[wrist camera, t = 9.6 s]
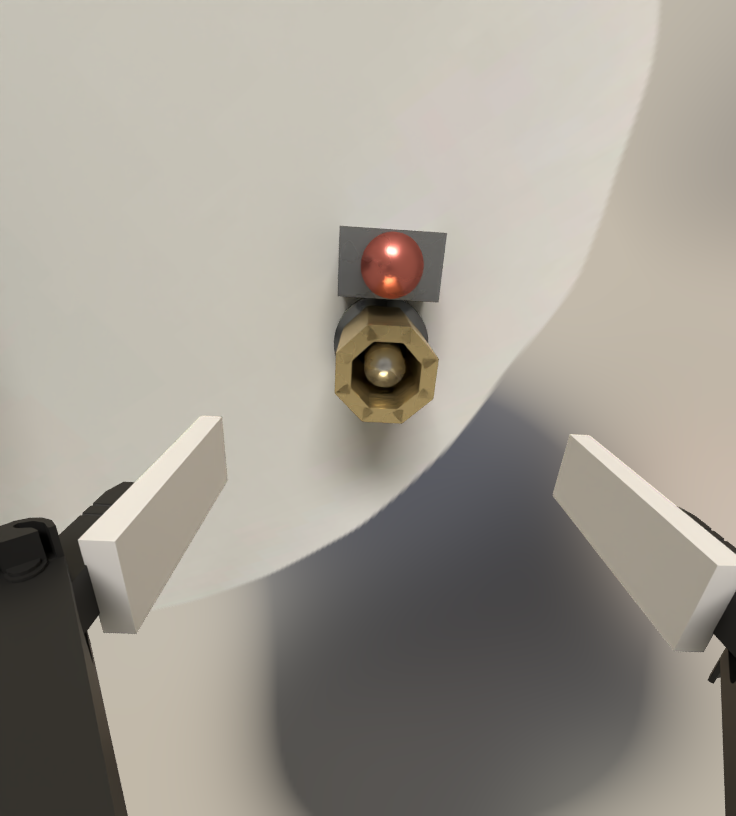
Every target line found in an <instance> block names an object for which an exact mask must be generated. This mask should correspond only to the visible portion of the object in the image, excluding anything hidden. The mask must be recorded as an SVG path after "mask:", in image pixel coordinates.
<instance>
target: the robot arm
mask: <svg viewBox="0 0 736 816" xmlns="http://www.w3.org/2000/svg"><path fill="white" fill-rule="evenodd" d="M227 481H228V479H227V468H226V457H225V445H224V434H223V423H222V417H217V416H200V417H199V418H198V419H197V420H196V421H195V422H194V423H193V424H192V425H191V426H190V427H189V428H188V429H187V430H186V431H185V432H184V433H183V434H182V435H181V436H180V437H179V438H178V439H177V440H176V441H175V442H174V443H173V444H172V445H171V446H170V447H169V448H168V449H167V451H166V452H165V453H164V454H163V455H162V456H161V457H160V458H159V459H158V460H157V461H156V462H155V463H154V464H153V465H152V466H151V467H150V468H149V469H148V470H147V471H146V472H145V473H144V474H143V475H142V476H141V477H140V478H139V479H138V480H137V481H136V482H122V483H121V484H119V485H117V486H115V487H113V488H111V489H109V490H108V491H106V492H105V493H104V494H103V495H101V496H100V497H99V498H98V499H97V500H96V501H95V502H94V503H93V506H90V507H89V508H87V509H86V510H85V511H84V512H83V515H82V516H81V515H80V516H79V517H78V518H77V519H76V520H75V521H74V522H72V523H71V524H70V525H69V526H68V527H67V528H66V529H65V530H64V531H63V532H62V533H61V534H60V535H58V532H57V529H56V525H55V524H54V523H53V521H52V520H49V519H46V518H27V519H22V520H17V521H13V522H10V523H8V524H5V525H2V526H0V816H128V815H127V810H126V805H125V801H124V796H123V791H122V787H121V783H120V777H119V773H118V768H117V763H116V759H115V754H114V750H113V745H112V741H111V736H110V731H109V727H108V722H107V718H106V713H105V708H104V703H103V699H102V694H101V690H100V685H99V680H98V676H97V671H96V667H95V662H94V657H93V652H92V648H91V643H90V639H89V635H88V632H87V630H88V629H89V627H90V626H91V625H92V623H93V622H94V621H95V619H96V618H97V616H98V615H99V618H100V622H101V625H102V629H103V632H104V633H128V634H137V632H138V630H139V629H140V627H141V625H142V623H143V622H144V620H145V618H146V617H147V615H148V613H149V612H150V610H151V608H152V607H153V605H154V603H155V602H156V600H157V598H158V597H159V595H160V593H161V592H162V590H163V588H164V587H165V585H166V583H167V581H168V580H169V578H170V576H171V575H172V573H173V571H174V570H175V568H176V566H177V565H178V563H179V561H180V560H181V558H182V556H183V555H184V553H185V551H186V550H187V548H188V546H189V544H190V543H191V541H192V539H193V538H194V536H195V534H196V533H197V531H198V529H199V528H200V526H201V524H202V523H203V521H204V519H205V518H206V516H207V514H208V513H209V511H210V509H211V508H212V506H213V504H214V502H215V501H216V499H217V497H218V496H219V494H220V492H221V491H222V489H223V487H224V486H225V484H226V482H227ZM553 496H554V498H555V499H556V500H557V501H558V503H559V504H560V505H561V507H562V508H563V509H564V510H565V512H566V513H567V514H568V515H569V517H570V518H571V520H572V521H573V522H574V523H575V525H576V526H577V527H578V529H579V530H580V531H581V532H582V533H583V535H584V536H585V538H586V539H587V540H588V541H589V543H590V544H591V545H592V546H593V548H594V549H595V550H596V552H597V553H598V554H599V556H600V557H601V558H602V559H603V561H604V562H605V563H606V565H607V566H608V567H609V569H610V570H611V571H612V572H613V574H614V575H615V576H616V578H617V579H618V580H619V581H620V583H621V584H622V585H623V587H624V588H625V589H626V590H627V592H628V593H629V594H630V595H631V597H632V598H633V599H634V601H635V602H636V603H637V605H638V606H639V607H640V609H641V610H642V611H643V612H644V614H645V615H646V616H647V618H648V619H649V620H650V621H651V623H652V624H653V625H654V627H655V628H656V629H657V630H658V632H659V633H660V634H661V636H662V637H663V638H664V639H665V641H666V642H667V643H668V645H669V646H670V647H671V648H672V650H673V651H683V652H684V651H685V652H704V650H705V649H706V647H707V645H708V643H709V641H710V640H711V638H712V636H713V634H714V635H715V636H716V637H717V638H718V639H719V640H720V641H721V642H722V643H723V644H724V646H725V647H726V648H725V650H724V652H723V653H722V655H721V657H720V658H719V660H718V662H717V664H716V665H715V667H714V669H713V670H712V672H711V674H710V676H709V679H708V681H709V682H711V683H714V682H715V680H716V679H717V678H720V677H721V701H722V729H723V757H724V786H725V814H726V816H736V548H735V547H734V546H733V545H731V544H730V543H729V542H727V541H724V538H722V537H721V536H720V535H719V534H717V533H716V532H715V531H711V528H710V527H709V526H707V525H706V524H705V523H704V522H702V521H701V520H700V519H699V518H697V517H696V516H694V515H693V514H691V513H689V512H687V511H685V510H684V509H681V508H680V507H678V506H676V505H674V504H673V503H672V502H671V501H670V500H668V499H667V498H666V497H665V496H663V495H662V494H661V493H660V492H659V491H657V490H656V489H655V488H654V487H653V486H651V485H650V484H649V483H647V482H646V481H645V480H644V479H643V478H641V477H640V476H639V475H638V474H637V473H635V472H634V471H633V470H632V469H630V468H629V467H628V466H627V465H625V464H624V463H623V462H622V461H621V460H619V459H618V458H617V457H616V456H614V455H613V454H612V453H611V452H609V451H608V450H607V449H606V448H605V447H603V446H602V445H601V444H600V443H598V442H597V441H596V440H595V439H594V438H592V437H591V436H590V435H574V434H570V436H569V439H568V443H567V446H566V450H565V453H564V457H563V460H562V464H561V467H560V471H559V474H558V478H557V481H556V485H555V488H554V492H553Z"/></svg>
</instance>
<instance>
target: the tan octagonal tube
mask: <svg viewBox="0 0 736 816" xmlns="http://www.w3.org/2000/svg"><path fill="white" fill-rule="evenodd" d="M374 341H377V342H394V343H404V344H405V346H406V356H405V358H404V361H405V373H404V375H403V377H402V379H401V380H400V381H399V382H398V383H396V384H395V385H393V386H390V387H379V386H376V385H374V384H373V383H371V382H370V381H369V380H368V378H367V376H366V374H365V370H364V364H363V363H362V362H361V361H360V360H359V358H358V357H357V356H358V355H359V354H360V353H361V352H362V351H363V350H364V349H366V348H367V347H368V346H369V345H370V344H371V343H372V342H374ZM438 360H439V359H438V357H437V356H436V354H435V353H434V352H433V350H432V349H431V347H430V346H429V344H428V343H427V341H426V340H425V338H424V337H423V335H422V334H421V333H420V331H419V330H418V329H417V328H416V326H415V325H414V324H413V323H412V322H411V320H410V319H409V318H408V317H407V316H406V314H405V313H404V312H403V311H402V310H401V308H400V307H384V306H368V305H367V306H366V307H365V308H364V309H363V310H362V311H361V312H360V313H359V314H357V315H356V316H355V317H354V318H353V319H352V320H351V321H350V322H349V323H348V324H346V325H345V326H344V328H343V331H342V334H341V338H340V341H339V344H338V348H337V351H336V369H335V394H336V395H337V396H338V397H339V398H340V399H341V400H342V401H343V402H344V403H345V404H346V405H347V406H348V407H349V408H350V409H351V411H352V412H353V413H354V414H355V415H356V416H357V417H358V418H359V419H360V420H361V421H363V422H382V423H401V424H402V423H403V422H405V421H406V420H407V419H408V418H410V417H411V416H412V415H413V414H415V413H416V412H417V411H418V410H420V409H421V408H422V407H424V406H425V405H426V404H427V403H429V402H430V401H431V400H432V399H433V398H434V390H435V383H436V375H437V367H438Z"/></svg>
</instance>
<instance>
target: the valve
mask: <svg viewBox="0 0 736 816" xmlns="http://www.w3.org/2000/svg"><path fill="white" fill-rule="evenodd" d="M446 236H447V233H438V232H423V231H408V230H393V229H379V228H364V227H349V226H340V236H339V269H338V296H345V297H361V298H363V299H361V300H359V301H357V302H356V303H354V304H353V305H352V306H350V307H349V308H348V309H347V311H346V312H345V313H344V314H343V316H342V317H341V319H340V321H339V323H338V326H337V329H336V332H335V337H334V350H335V355H336V351H337V348H338V344H339V341H340V338H341V334H342V331H343V328H344V326H345V325H346V324H348V323H349V322H350V321H351V320H352V319H353V318H354V317H355V316H356V315H357V314H359V313H360V312H361V311H362V310H363V309H364V308H365V307H366V306H367V305H368V306H384V307H400V308H401V310H402V311H403V312H404V313H405V314H406V316H407V317H408V318H409V319H410V320H411V322H412V323H413V324H414V325H415V326H416V328H417V329H418V330H419V331H420V333H421V334H422V335H423V337H424V338H425V340H426V341H427V343H428V335H427V330H426V327H425V324H424V322H423V320H422V318H421V317H420V316H419V314H418V313H417V312H416V311H415V309H414V308H413V307H412V306H410V305H409V304H408V303H407V302H405V301H403V300H410V301H426V302H438V300H439V292H440V284H441V276H442V268H443V260H444V252H445V244H446ZM405 356H406V346H405V344H404V343H394V342H377V341H374V342H372V343H371V344H370V345H369V346H368V347H367V348H366V349H364V350H363V351H362V352H361V353H360V354H359V355H358V356H357V357H358V358H359V360H360V361H361V362H362V363H363V364H364V370H365V374H366V376H367V378H368V380H369V381H370V382H371V383H373V384H374V385H376V386H379V387H390V386H393V385H395V384H396V383H398V382H399V381H400V380H401V379H402V377H403V375H404V373H405V361H404V358H405Z"/></svg>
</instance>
